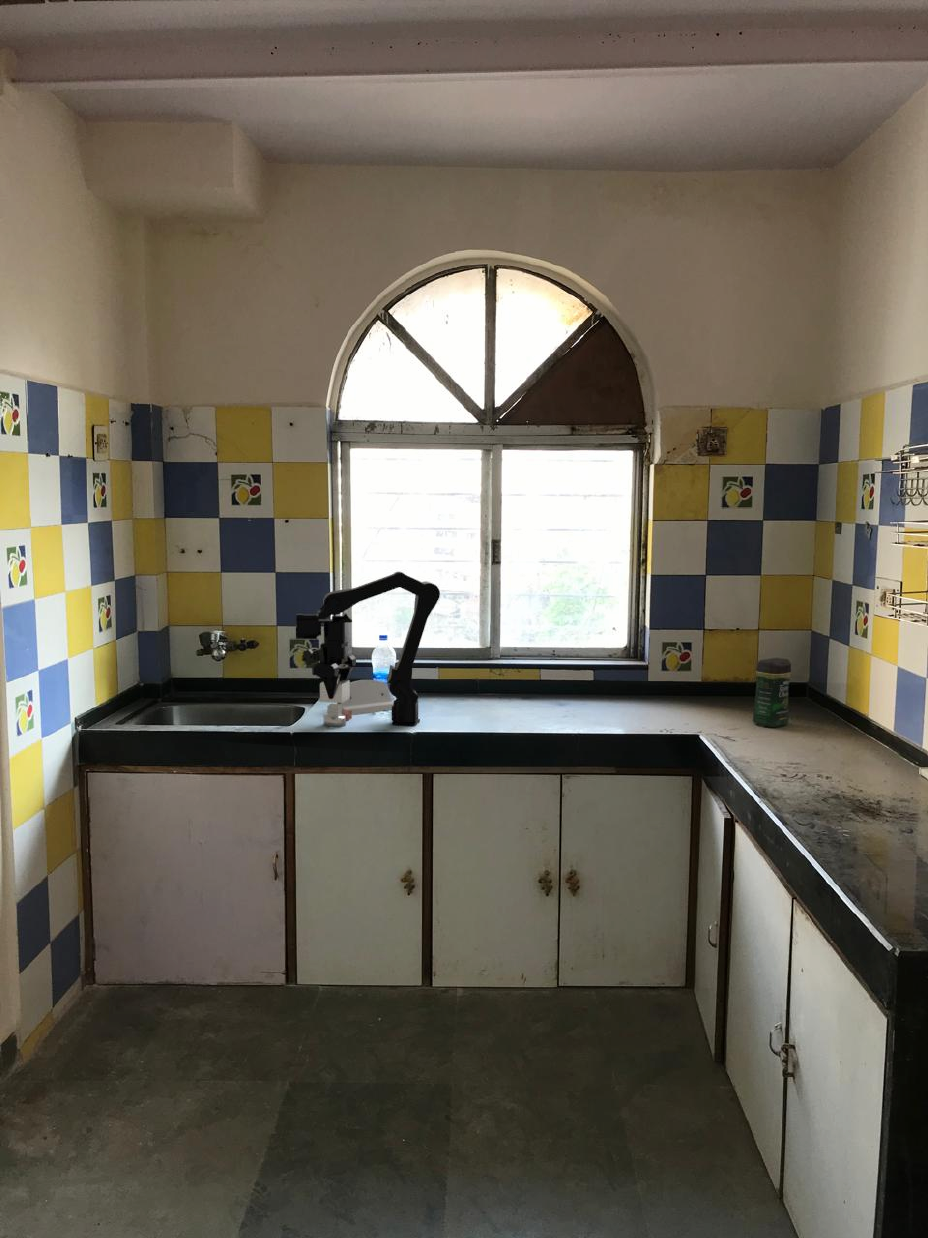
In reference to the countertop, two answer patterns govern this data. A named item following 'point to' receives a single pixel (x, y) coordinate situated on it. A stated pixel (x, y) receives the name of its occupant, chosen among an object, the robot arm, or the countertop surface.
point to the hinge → (368, 697)
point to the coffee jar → (772, 692)
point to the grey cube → (336, 692)
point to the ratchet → (336, 716)
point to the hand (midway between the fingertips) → (335, 696)
